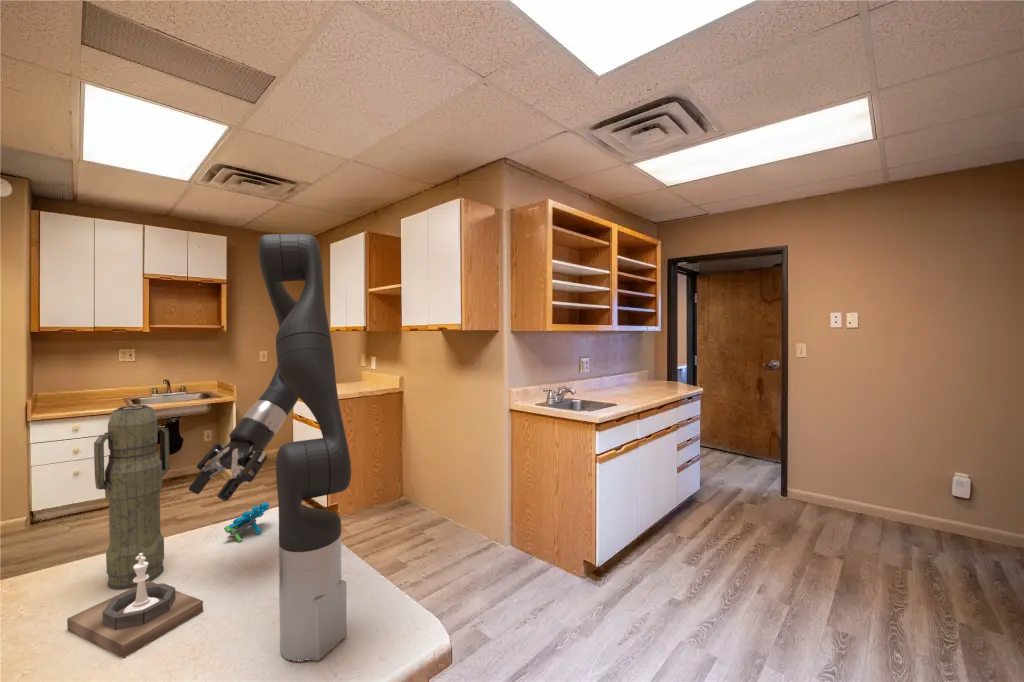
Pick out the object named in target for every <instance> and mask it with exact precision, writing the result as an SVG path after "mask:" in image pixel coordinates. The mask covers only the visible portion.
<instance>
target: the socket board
mask: <svg viewBox="0 0 1024 682" xmlns="http://www.w3.org/2000/svg"><path fill="white" fill-rule="evenodd" d="M145 585H146V591H147V595H148V597H150V598H157V599H159V602H157V603H155V604H153V605H151V606H149V607H147V608H145V609H143V610H138V611H133V612H128V613H123V612H124V610H125V608H126V607H127V606H129V605H130V604H132V603H133V602H134V601H135V599H136V593H137V586H136V587H133V588H128V590H127V589H126V590H125V591H123V592H121V593H118V594H117V595H115V596H113V597H111V598H108V599H106V600H104V601H102V602H99V603H98V604H95V605H93V606H90V607H89V608H87V609H85V610H82V611H80V612H78V613H76V614H73V615H72V616H70V617H68V618H67V620H66V621H67V631H68V630H69V631H68V632H70V631H71V632H70V633H72V632H73V633H72V634H74V633H75V634H74V635H76V634H77V636H78V635H79V637H81V638H82V637H83V639H84V640H87V641H89V642H91V643H92V644H95V645H97V646H99V647H100V648H102V649H104V650H107V651H109V652H111V653H113V654H114V655H117V656H119V657H121V658H122V659H124V658H126V657H127V656H129V655H131V654H132V653H134V652H136V651H138V650H139V649H141V648H142V647H144V646H146V645H148V644H150V643H152V642H153V641H155V640H157V639H158V638H160V637H162V636H163V635H165V634H167V633H169V632H170V631H172V630H173V629H175V628H177V627H179V626H181V625H182V624H184V623H186V622H187V621H190V620H191V619H192V618H194V617H197V616H199V614H201V613H203V612H204V600H202V599H200V598H197V597H194V596H191V595H190V594H189V595H188V594H186V593H183V592H181V591H178V590H176V587H174V586H172V585H169V584H166V583H164V582H161V583H156V582H154V581H147V582H145Z"/></svg>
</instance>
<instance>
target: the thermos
mask: <svg viewBox="0 0 1024 682" xmlns="http://www.w3.org/2000/svg"><path fill="white" fill-rule="evenodd" d="M158 432H159V433H158ZM158 434H159V436H158ZM158 437H159V438H158ZM106 441H107V447H108V450H109V455H108V462H107V465H106V468H105V447H104V444H105V442H106ZM158 442H159V449H158V448H157V446H158V445H157V444H158ZM159 452H160V453H159ZM93 453H94V454H93V455H94V456H93V458H94V461H93V464H94V483H95V488H96V490H104V495H105V496H104V497H105V499H106V500H107V502H108V524H109V525H108V529H109V533H108V534H109V537H108V538H109V546H108V547H107V550H106V553H105V555H106V556H105V560H106V565H105V566H106V574H107V579H108V580H107V586H108V587H109V589H112V590H127V589H128V590H129V589H132V588H134V587H136V586H137V584H138V582H137V583H135V582H133V580H134V578H135V577H137V575H136V572H135V570H134V569H133V567H134V565H136V564H137V563H139V560H136V557H137V556H138V554H140V553H143V557H146V560H144V561H143V562H148V567H147V569H146V572H145V574H148V575H149V578H148V579H147V580H145V582H147V581H151V582H153V581H154V580H155V579H157V578H158V577H160V576H161V575H162V574H163V573H164V568H165V567H164V559H165V538H164V536H163V534H162V533H161V499H160V498H161V495H160V493H161V490H162V489H163V477H164V475H166V474H167V473H168V472H169V470H170V469H171V467H170V464H171V463H170V432H169V430H167V429H166V428H165V426H162V425H158V418H157V415H156V413H155V411H154V408H153V407H151V406H148V405H147V404H145V405H144V404H141V405H140V404H138V405H137V404H136V405H127V406H119V407H117V408H116V409H113V410H112V413H111V415H110V417H109V420H108V423H107V432H104V433H103V434H100V435H99V436H98V437H97V438H96V439H95V441H94V443H93ZM159 454H160V455H159Z"/></svg>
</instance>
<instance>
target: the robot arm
mask: <svg viewBox="0 0 1024 682" xmlns="http://www.w3.org/2000/svg"><path fill="white" fill-rule="evenodd" d="M257 247H258V249H257V252H258V253H257V255H258V262H259V267H260V272H261V275H262V278H263V282H264V284H265V287H266V291H267V294H268V297H269V301H270V303H271V306H272V308H273V311H274V313H275V316H276V319H277V324H278V330H277V333H276V335H275V351H276V362H277V363H276V365H277V366H276V369H275V371H274V374H273V376H272V378H271V380H270V383H269V384H268V387H267V388H266V390H265V391H264V392H263V394H261V396H259V398H258V400H257V401H256V402H255V403H254V404H253V405H252V406H251V407H250V408H249V409H248V410H247V411H246V413H245V414H244V416H243V417H242V418H241V419H240V420H239V422H238V423H237V424H236V425H235V426H234V428H233V429H232V430H231V432H230V433H229V439H230V441H229V442H228V443H227V444H226V445H225V446H224V445H222V444H221V443H219V442H217V443H215V444H214V445H213V446H212V447H211V448H210V450H208V452H207V453H206V455H204V457H203V458H202V459H201V460H200V461H199V462H198V464H197V465H196V469H198V470H199V474H198V475H197V477H196V478H195V479H194V481H192V483H191V484H190V485H189V488H188V490H189V492H191V493H193V494H194V495H199V494H200V493H201V492H202V491H203V490H204V488H205V487H206V486H207V484H208V483H209V482H210V480H211V478H212V477H213V476H214V475H217V474H218V473H219V472H221V473H222V472H225V471H226V470H232V472H231V478H228V480H227V481H226V483H224V485H223V487H222V488H221V489H220V491H218V494H217V498H218V499H220V500H221V501H225V502H227V501H229V500H230V498H232V497H233V495H234V494H235V492H236V490H238V488H239V486H240V485H242V484H244V483H245V482H248V483H252V482H253V481H254V479H255V478H256V476H257V474H258V473H259V472H260V470H261V468H262V466H263V465H264V463H265V462H266V460H267V458H268V455H267V454H266V453H265V452H264V451H265V449H266V448H267V447H268V445H269V443H270V442H271V441H272V440H273V438H274V437H275V435H276V434H277V432H279V430H280V429H281V427H282V425H283V424H284V422H285V420H286V418H287V416H288V415H289V414H290V412H291V411H292V409H293V408H294V407H295V405H296V404H297V402H298V401H299V400H300V401H302V402H303V404H304V405H305V406H306V407H307V408H308V409H309V411H310V412H311V414H312V415H313V417H314V418H315V420H316V422H317V424H318V427H319V430H320V433H321V435H322V437H321V438H319V437H318V438H311V439H304V440H298V441H290V442H286V443H283V444H282V445H280V446H279V448H278V450H277V452H276V457H275V479H276V490H277V491H276V492H277V501H278V564H279V565H278V577H279V578H278V586H279V588H278V591H279V592H278V596H279V600H278V601H279V602H278V603H279V652H280V655H281V656H282V657H283V658H284V659H285V660H287V661H290V660H295V661H294V662H296V661H297V662H303V661H302V660H306V659H314V660H313V661H315V660H317V661H316V662H319V661H320V660H319V659H321V658H322V659H323V658H324V657H325V656H327V654H328V653H330V652H329V651H330V650H331V649H332V648H333V649H334V648H336V646H338V645H339V644H340V643H341V642H342V641H343V640H344V639H345V638H346V637H347V636H346V635H347V581H346V580H344V579H342V519H341V517H340V516H339V514H337V513H336V512H334V511H331V510H329V509H323V508H313V507H310V506H307V505H304V504H303V501H305V500H309V499H314V498H318V497H319V498H321V497H323V496H324V497H325V496H329V495H330V496H331V495H334V494H339V493H341V492H344V491H346V490H347V489H348V488H349V486H350V484H351V479H352V462H351V455H350V449H349V444H348V441H347V440H348V439H347V434H346V431H345V425H344V420H343V417H342V411H341V407H340V402H339V395H338V388H337V387H338V386H337V377H336V369H335V368H336V366H335V358H334V357H335V356H334V351H333V350H334V349H333V344H332V343H333V342H332V338H331V337H332V336H331V332H330V327H329V321H328V320H329V318H328V316H327V315H328V314H327V308H326V301H325V298H326V297H325V287H324V286H325V285H324V270H323V269H324V268H323V259H322V258H323V257H322V252H321V251H322V250H321V247H320V244H319V241H318V240H317V238H316V237H315V236H314V235H312V234H304V233H298V234H297V233H271V234H270V233H269V234H263V235H261V236H260V238H259V239H258V246H257ZM299 281H302V282H304V285H303V289H302V292H301V294H300V296H299V298H298V299H297V301H296V300H295V299H294V297H293V296H291V294H290V293H289V292H288V290H287V289H286V288H285V285H284V283H283V282H299ZM208 461H209V462H208ZM207 462H208V463H207ZM250 471H251V472H250ZM249 472H250V473H249ZM345 636H346V637H345ZM344 637H345V638H344ZM343 638H344V639H343ZM342 639H343V640H342ZM341 640H342V641H341ZM340 641H341V642H340ZM339 642H340V643H339ZM333 649H332V650H333ZM332 650H331V651H332ZM324 655H325V656H324ZM323 656H324V657H323ZM322 659H321V660H322ZM298 660H299V661H298ZM300 660H301V661H300ZM318 660H319V661H318Z"/></svg>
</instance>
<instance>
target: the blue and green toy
mask: <svg viewBox="0 0 1024 682" xmlns="http://www.w3.org/2000/svg"><path fill="white" fill-rule="evenodd" d="M270 506H271V505H270V503H269V502H266V501H263V502H261V503H260V504H259V506H258V504H256V505H254V506H252V507H251V510H250V511H248V510H245V511H244V512H242V514H241V516H239V517H236V518H235V519H233V521H232V523H231V524H229V525H226V526H224V527H223V530H225V533H226V534H229V535H230V536H232V537H233V536H234V538H235V539H236V541H237V542H238V543H241V542H242V538H241V537H240V535H239V533H240V532H242V531H243V530H245V529H247V528H249V527H250V526H251V527H252V528H253V530H254V532H256V534H257V535H260V534H262V530H261V528H260V527H259V525H258V524H257V519H258V518H261V517H262V516H263V515H265V512H267V511H268V510H269V508H270ZM250 515H251V516H250Z"/></svg>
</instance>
